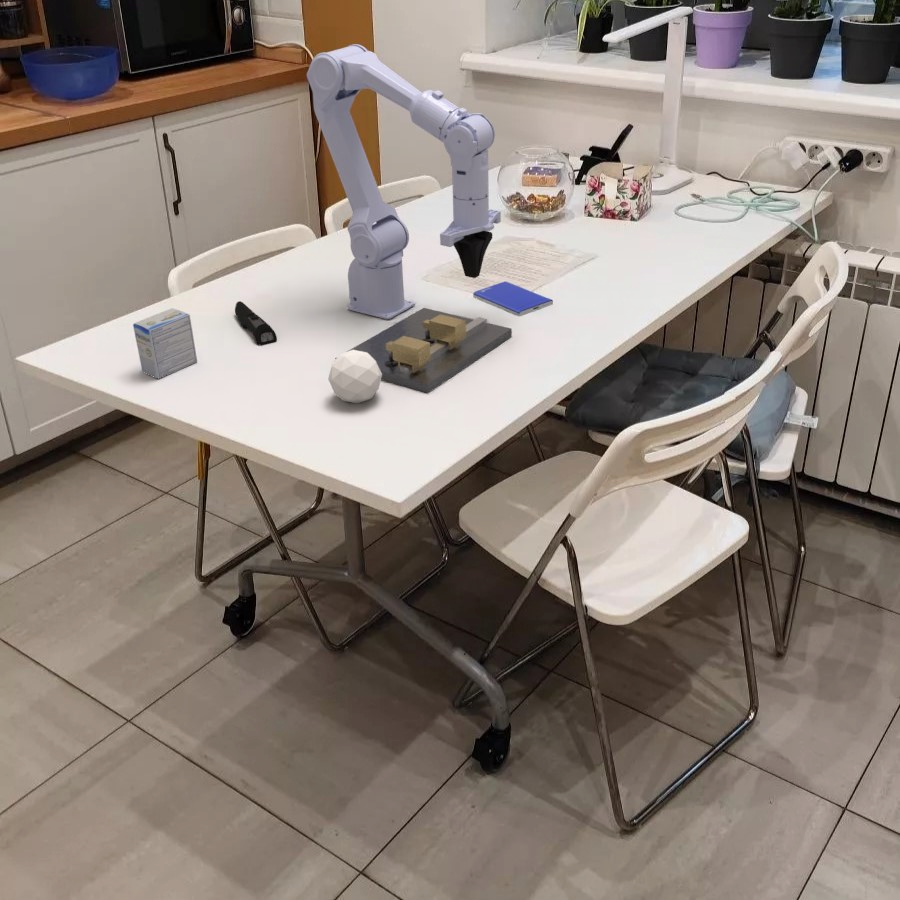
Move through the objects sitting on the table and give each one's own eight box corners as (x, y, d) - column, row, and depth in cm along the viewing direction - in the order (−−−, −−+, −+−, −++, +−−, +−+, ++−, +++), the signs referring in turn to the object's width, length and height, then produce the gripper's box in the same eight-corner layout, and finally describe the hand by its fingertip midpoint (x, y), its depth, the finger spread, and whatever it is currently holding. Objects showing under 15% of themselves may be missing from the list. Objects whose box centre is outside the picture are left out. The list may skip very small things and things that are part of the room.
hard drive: (472, 291, 189) (519, 311, 180) (506, 280, 193) (553, 298, 185) (473, 300, 190) (519, 319, 181) (506, 288, 194) (553, 306, 185)
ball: (344, 416, 157) (312, 373, 155) (384, 384, 159) (352, 342, 158) (357, 412, 150) (324, 368, 148) (399, 379, 152) (366, 335, 151)
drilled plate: (336, 366, 166) (332, 332, 163) (424, 315, 182) (422, 283, 179) (427, 393, 156) (426, 356, 153) (511, 336, 173) (511, 303, 170)
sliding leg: (420, 341, 168) (418, 318, 166) (430, 335, 170) (429, 311, 168) (455, 350, 165) (455, 327, 163) (466, 344, 167) (465, 320, 165)
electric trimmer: (251, 314, 187) (249, 298, 185) (279, 343, 175) (277, 326, 174) (231, 318, 186) (229, 302, 184) (258, 348, 174) (255, 330, 172)
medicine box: (181, 356, 171) (172, 306, 167) (198, 362, 169) (190, 313, 164) (141, 373, 166) (131, 322, 162) (158, 380, 164) (149, 329, 159)
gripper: (465, 211, 159) (467, 294, 165) (516, 187, 169) (515, 267, 176) (428, 204, 162) (431, 286, 169) (480, 181, 172) (481, 259, 179)
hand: (472, 275), depth 173 cm, fingers closed
